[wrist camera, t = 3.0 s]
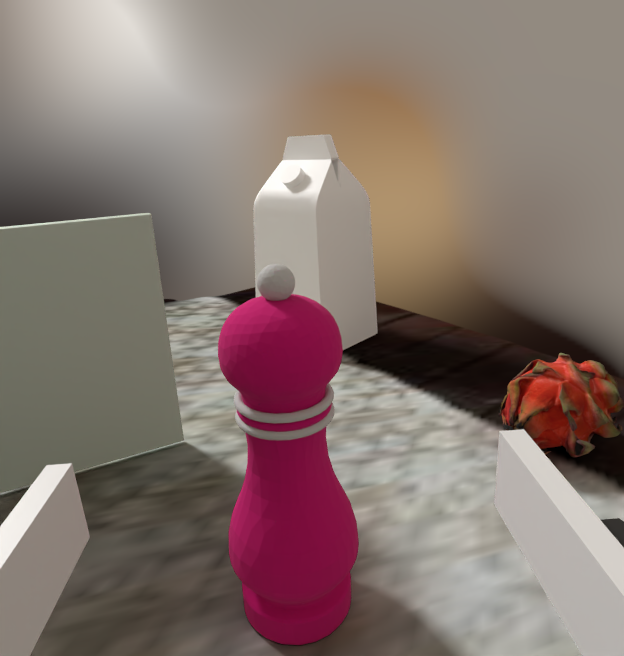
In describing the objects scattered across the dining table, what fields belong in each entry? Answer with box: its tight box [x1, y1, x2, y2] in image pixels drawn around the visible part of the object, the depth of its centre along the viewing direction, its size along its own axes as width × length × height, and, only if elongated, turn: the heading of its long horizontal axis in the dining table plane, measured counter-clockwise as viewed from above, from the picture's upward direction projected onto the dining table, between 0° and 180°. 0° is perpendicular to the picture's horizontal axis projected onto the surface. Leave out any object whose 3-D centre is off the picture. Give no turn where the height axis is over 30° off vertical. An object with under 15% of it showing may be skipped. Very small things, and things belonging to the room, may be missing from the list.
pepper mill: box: [218, 264, 359, 645], centre depth 27 cm, size 7×7×20 cm
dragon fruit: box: [499, 353, 624, 457], centre depth 43 cm, size 8×8×12 cm
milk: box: [253, 135, 378, 350], centre depth 68 cm, size 12×12×26 cm
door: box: [0, 213, 184, 493], centre depth 40 cm, size 3×20×20 cm, turn 118°
